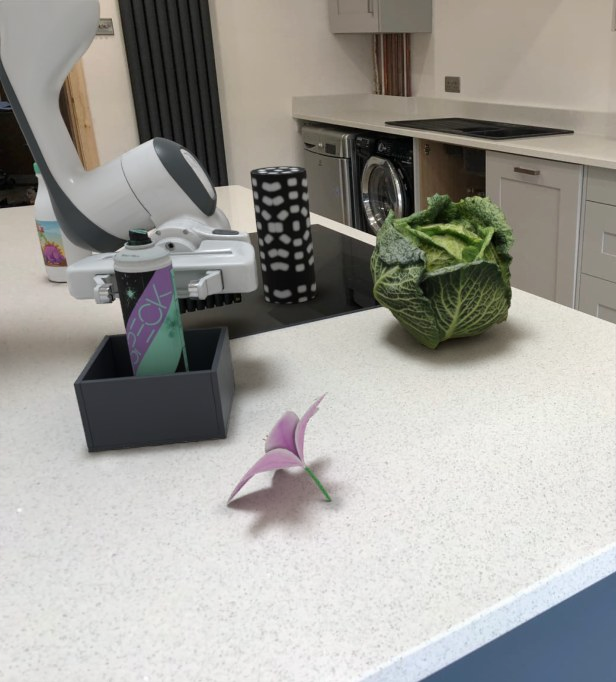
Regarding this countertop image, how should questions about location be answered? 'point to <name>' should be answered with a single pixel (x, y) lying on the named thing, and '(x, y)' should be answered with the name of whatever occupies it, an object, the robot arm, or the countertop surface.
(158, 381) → the bin
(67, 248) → the milk bottle
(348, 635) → the countertop surface
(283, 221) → the spotted tube
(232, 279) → the robot arm
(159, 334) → the spray can
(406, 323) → the vegetable
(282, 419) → the lily
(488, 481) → the countertop surface
